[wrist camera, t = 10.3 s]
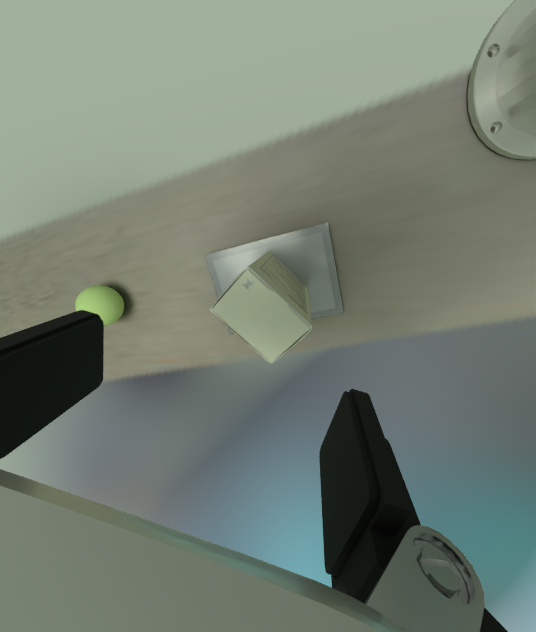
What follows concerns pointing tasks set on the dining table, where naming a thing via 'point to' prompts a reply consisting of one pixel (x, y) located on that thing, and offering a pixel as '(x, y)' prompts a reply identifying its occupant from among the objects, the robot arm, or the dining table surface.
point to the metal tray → (288, 265)
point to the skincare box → (266, 308)
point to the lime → (101, 303)
